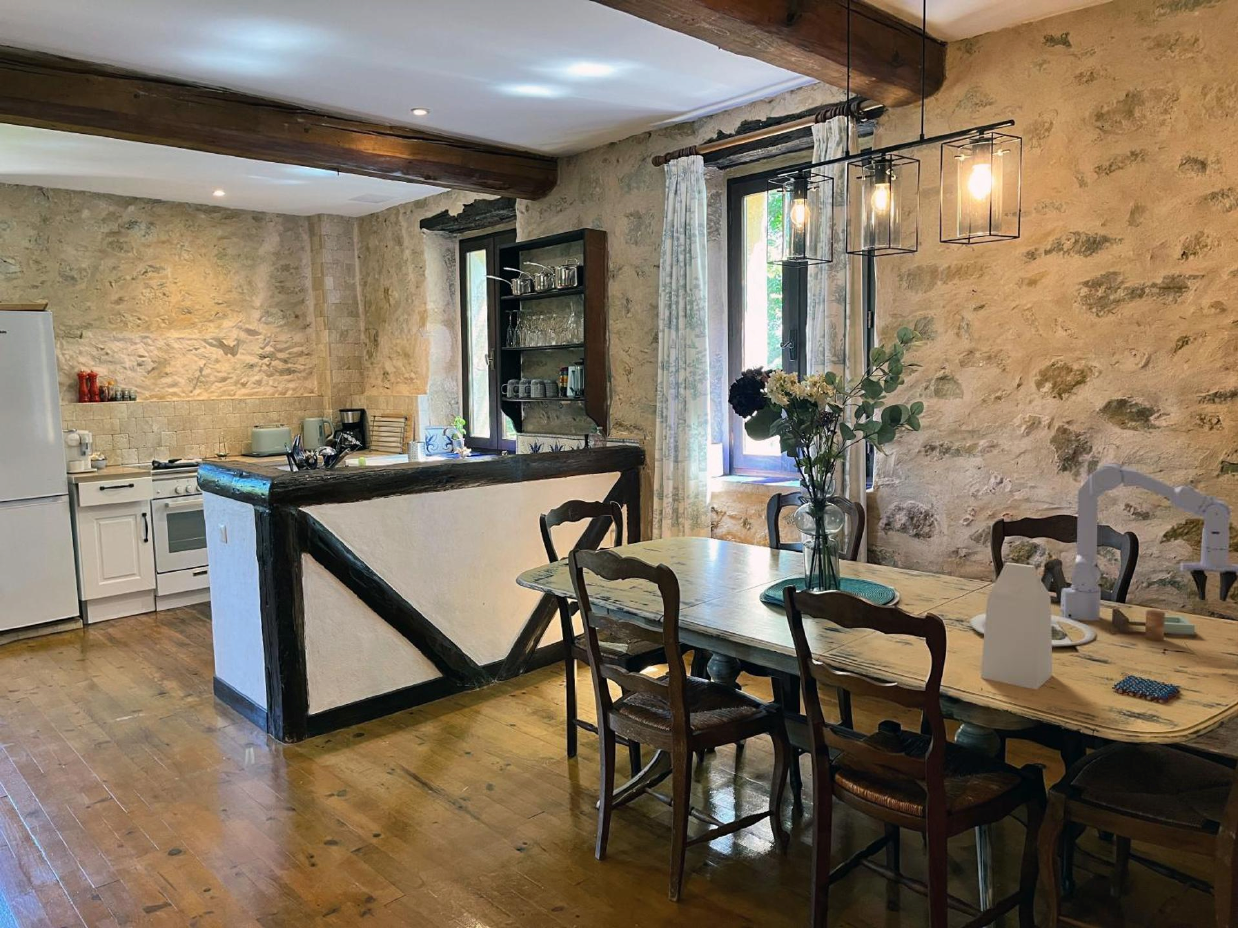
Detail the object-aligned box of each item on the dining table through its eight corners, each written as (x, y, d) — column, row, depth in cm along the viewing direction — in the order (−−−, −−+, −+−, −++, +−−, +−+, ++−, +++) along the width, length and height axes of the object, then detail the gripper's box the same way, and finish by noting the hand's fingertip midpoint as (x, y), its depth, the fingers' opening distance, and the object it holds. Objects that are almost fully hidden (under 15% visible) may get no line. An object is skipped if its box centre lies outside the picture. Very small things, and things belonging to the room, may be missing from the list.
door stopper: (1072, 600, 260) (1073, 561, 259) (1064, 604, 256) (1065, 564, 255) (1041, 595, 267) (1042, 556, 265) (1032, 598, 263) (1034, 559, 261)
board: (1128, 644, 218) (1129, 625, 217) (1111, 626, 233) (1112, 608, 232) (1206, 649, 213) (1207, 629, 212) (1183, 630, 228) (1184, 612, 228)
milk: (1052, 675, 198) (1055, 563, 195) (1036, 689, 189) (1040, 573, 187) (998, 664, 206) (1000, 556, 203) (980, 677, 197) (983, 565, 194)
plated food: (1079, 621, 240) (1080, 609, 239) (1109, 655, 211) (1110, 642, 211) (964, 615, 248) (964, 603, 247) (977, 647, 219) (977, 634, 219)
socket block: (1157, 634, 222) (1158, 623, 222) (1147, 625, 230) (1148, 614, 229) (1194, 636, 220) (1194, 625, 219) (1182, 627, 227) (1183, 616, 227)
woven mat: (1127, 681, 194) (1128, 672, 194) (1181, 694, 186) (1182, 685, 186) (1109, 693, 187) (1109, 684, 187) (1164, 706, 179) (1165, 697, 179)
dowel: (1147, 641, 217) (1149, 613, 217) (1143, 636, 221) (1144, 609, 220) (1165, 642, 216) (1167, 614, 215) (1160, 637, 220) (1161, 610, 219)
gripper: (1187, 549, 218) (1185, 602, 219) (1254, 551, 214) (1251, 605, 215) (1178, 544, 225) (1175, 595, 226) (1243, 546, 221) (1240, 598, 222)
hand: (1212, 599), depth 221 cm, fingers open, 4 cm apart
